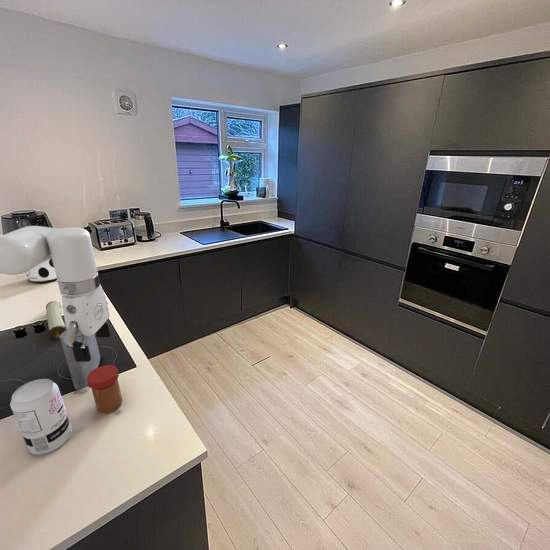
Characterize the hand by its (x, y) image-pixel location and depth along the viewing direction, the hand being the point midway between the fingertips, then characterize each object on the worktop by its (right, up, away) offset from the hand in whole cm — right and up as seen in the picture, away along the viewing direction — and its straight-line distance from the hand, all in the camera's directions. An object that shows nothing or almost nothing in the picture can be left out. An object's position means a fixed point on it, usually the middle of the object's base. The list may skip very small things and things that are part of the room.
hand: (94, 348), depth 70 cm
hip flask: (-13, -12, +19) cm, 26 cm away
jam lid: (0, -8, +3) cm, 8 cm away
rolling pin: (-42, -2, +43) cm, 60 cm away
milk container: (-78, +16, +85) cm, 117 cm away
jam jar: (0, -17, +7) cm, 18 cm away
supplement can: (-8, -21, -3) cm, 23 cm away
